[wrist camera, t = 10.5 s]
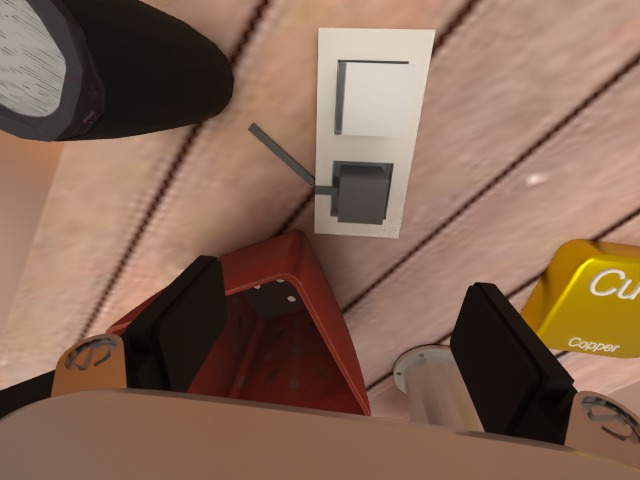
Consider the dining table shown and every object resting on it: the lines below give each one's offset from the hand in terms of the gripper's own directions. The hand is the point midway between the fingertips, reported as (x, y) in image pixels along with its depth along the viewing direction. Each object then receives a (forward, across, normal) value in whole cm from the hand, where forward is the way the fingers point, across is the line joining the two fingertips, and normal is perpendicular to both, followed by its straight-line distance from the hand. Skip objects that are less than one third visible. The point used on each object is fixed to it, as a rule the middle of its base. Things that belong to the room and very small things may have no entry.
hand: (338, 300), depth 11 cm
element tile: (+26, -35, +14) cm, 46 cm away
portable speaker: (+24, +17, -9) cm, 31 cm away
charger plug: (+24, -2, -8) cm, 25 cm away
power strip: (+24, +2, -3) cm, 25 cm away
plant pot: (+25, +8, +16) cm, 31 cm away
